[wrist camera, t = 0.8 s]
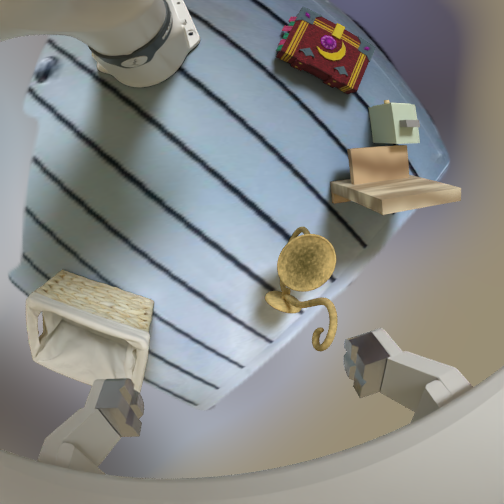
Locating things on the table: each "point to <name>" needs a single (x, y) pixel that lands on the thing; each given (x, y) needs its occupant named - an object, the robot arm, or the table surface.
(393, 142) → the sage cabinet
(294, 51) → the decorative book
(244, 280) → the table surface
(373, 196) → the wall board
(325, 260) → the wall sconce
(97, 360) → the storage basket
